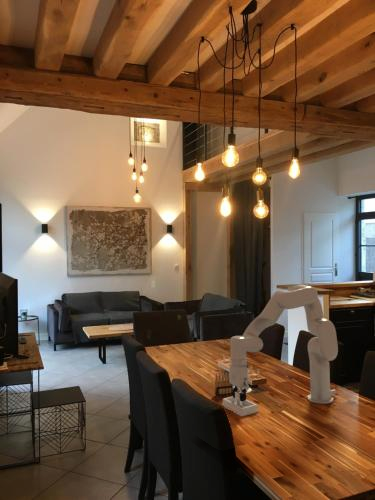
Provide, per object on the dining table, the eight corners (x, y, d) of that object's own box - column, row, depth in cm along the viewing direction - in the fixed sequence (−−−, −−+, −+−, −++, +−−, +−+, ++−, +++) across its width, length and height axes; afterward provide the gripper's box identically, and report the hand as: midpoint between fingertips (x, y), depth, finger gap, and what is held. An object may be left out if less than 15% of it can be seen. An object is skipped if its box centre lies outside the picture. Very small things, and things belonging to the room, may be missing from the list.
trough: (238, 401, 218) (238, 395, 218) (258, 411, 204) (258, 404, 204) (222, 405, 213) (221, 398, 213) (241, 416, 199) (241, 409, 199)
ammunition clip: (233, 393, 230) (233, 371, 230) (235, 394, 228) (234, 372, 228) (214, 395, 228) (214, 373, 228) (215, 396, 226) (215, 374, 226)
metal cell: (240, 404, 211) (239, 388, 211) (245, 406, 208) (244, 390, 208) (234, 406, 209) (233, 389, 209) (238, 408, 206) (237, 391, 206)
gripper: (222, 359, 214) (223, 395, 214) (242, 367, 199) (244, 406, 199) (234, 357, 217) (235, 392, 217) (255, 364, 203) (256, 402, 203)
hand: (239, 398), depth 208 cm, fingers open, 5 cm apart
